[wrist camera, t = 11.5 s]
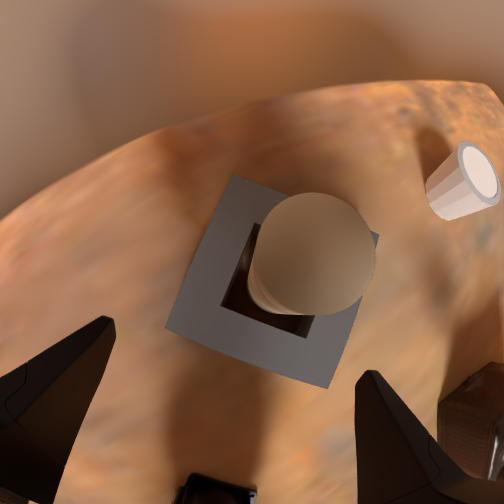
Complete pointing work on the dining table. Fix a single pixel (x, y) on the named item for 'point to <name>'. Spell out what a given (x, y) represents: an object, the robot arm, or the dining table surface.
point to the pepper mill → (475, 424)
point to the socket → (240, 326)
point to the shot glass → (463, 183)
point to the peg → (311, 257)
